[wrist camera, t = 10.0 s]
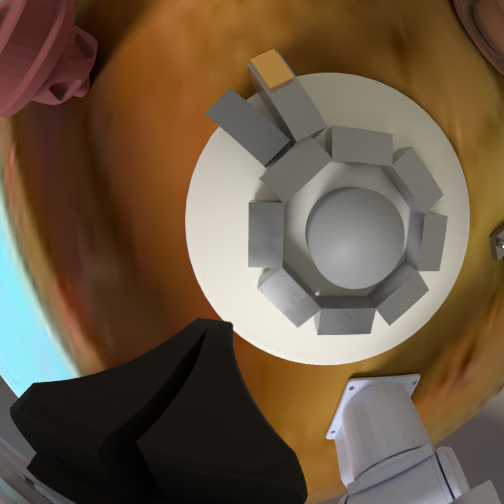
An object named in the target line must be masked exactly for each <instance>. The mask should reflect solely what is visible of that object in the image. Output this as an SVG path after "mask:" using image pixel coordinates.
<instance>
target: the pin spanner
mask: <svg viewBox="0 0 504 504" xmlns="http://www.w3.org/2000/svg"><path fill="white" fill-rule="evenodd" d="M489 238H490V244H491V249H492V255H493V259H495V260H497V261H499V260H500V259H501V258H502V257H503V260H504V224H503V225H502V226H501V227H499V228H498V229H497V230H496V231H495V232H494V233H493V234H491V235H490V236H489Z"/></svg>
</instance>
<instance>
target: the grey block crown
mask: <svg viewBox="0 0 504 504" xmlns="http://www.w3.org/2000/svg"><path fill="white" fill-rule="evenodd" d="M250 62H251V63H249V64H247V65H248V69H249V73H250V77H251V81H252V85H253V87H254V88H255V90H256V91H257V93H258V94H259V96H260V97H261V99H262V101H263V102H264V104H265V105H266V107H267V108H268V110H269V112H270V113H271V115H272V116H273V118H274V120H275V121H276V123H277V125H278V126H279V128H280V130H281V131H282V133H284V134H285V135H286V136H287V137H288V138H289V139H290V142H289V145H290V147H291V149H290V150H289V151H288V152H287V153H286V154H285V155H283V156H282V157H281V158H280V159H279V160H278V161H277V162H276V163H275V164H274V165H273V166H272V167H271V168H269V169H268V170H267V171H266V172H265V173H264V174H263V175H262V176H261V177H260V178H259V179H260V180H261V181H262V182H263V183H264V184H265V185H266V186H267V187H268V188H269V189H270V190H271V191H272V192H273V193H274V194H275V195H276V196H277V197H278V198H279V199H280V200H253V199H251V200H250V201H249V219H248V267H257V268H269V269H267V270H266V271H265V272H264V273H263V274H262V275H261V276H260V277H259V280H258V286H257V289H258V290H259V291H260V292H261V293H262V294H263V295H264V296H265V297H266V298H267V299H268V300H269V301H270V302H271V303H272V304H273V305H274V306H276V307H277V308H278V309H279V310H280V311H281V312H282V313H283V314H284V315H285V316H286V317H287V318H288V319H289V320H290V321H291V322H292V323H293V324H294V325H295V326H296V327H297V328H298V327H300V326H301V325H302V324H304V323H305V322H306V321H308V320H309V319H310V318H311V317H313V316H314V323H315V327H316V332H317V335H357V334H371V329H372V325H373V321H374V316H375V312H376V310H377V311H378V312H379V314H380V315H381V316H382V318H383V319H384V320H385V321H386V323H387V324H388V325H389V326H390V325H391V324H392V323H394V322H395V321H396V320H397V319H398V318H399V317H401V316H402V315H403V314H404V313H405V312H406V311H407V310H408V309H410V308H411V307H412V306H413V305H414V304H415V303H416V302H417V301H418V300H419V299H420V298H421V297H422V296H424V295H425V294H426V293H427V292H428V291H429V289H428V287H427V285H426V284H425V282H424V280H423V279H422V277H421V275H420V274H419V272H418V271H439V270H440V265H441V260H442V254H443V248H444V242H445V235H446V228H447V219H448V216H446V215H443V214H439V213H436V212H431V211H429V210H430V209H431V208H432V207H433V206H434V204H435V203H436V202H437V201H438V200H439V199H440V198H441V197H442V196H443V193H442V191H441V190H440V188H439V186H438V185H437V183H436V181H435V180H434V178H433V177H432V175H431V174H430V172H429V171H428V169H427V168H426V166H425V165H424V163H423V162H422V160H421V159H420V157H419V156H418V154H417V153H416V152H415V150H414V149H413V148H412V146H411V147H405V148H400V149H398V150H396V151H395V152H394V153H393V134H390V133H385V132H379V131H372V130H366V129H358V128H351V127H342V126H331V127H330V128H329V129H327V130H326V151H325V150H324V149H323V148H322V147H321V146H320V145H319V144H318V142H317V141H316V140H315V139H314V138H315V137H317V136H318V135H319V134H320V133H321V132H322V131H323V130H325V129H326V128H327V125H326V123H325V121H324V120H323V118H322V116H321V115H320V113H319V111H318V110H317V108H316V106H315V105H314V103H313V102H312V100H311V98H310V97H309V95H308V94H307V92H306V91H305V89H304V88H303V86H302V85H301V83H300V82H299V80H298V79H297V77H296V76H295V74H294V73H293V71H292V70H291V69H290V67H289V66H288V64H287V63H286V62H285V60H284V59H283V57H282V56H281V55H280V53H279V52H278V51H275V49H272V50H270V51H268V52H265V53H263V54H261V55H259V56H256V57H254V58H252V59H250ZM329 162H337V163H348V164H358V165H367V166H375V167H380V168H381V169H382V170H383V172H384V173H385V174H386V175H387V177H388V178H389V179H390V181H391V182H392V183H393V185H394V186H395V188H396V189H397V190H398V192H399V193H400V194H401V196H402V197H403V199H404V200H405V202H406V203H407V205H408V206H409V207H410V209H411V215H410V225H409V234H408V242H407V249H406V256H405V262H404V263H403V264H401V265H400V266H399V267H398V268H397V269H396V270H395V271H394V272H393V273H392V274H391V275H390V276H389V277H388V278H386V279H385V280H384V281H383V282H382V283H381V284H380V285H379V286H378V287H376V288H375V289H374V290H373V291H372V292H371V293H370V294H368V295H367V296H317V295H316V294H315V293H314V292H313V291H312V289H311V288H310V287H309V286H308V285H307V284H306V283H305V282H304V281H303V280H302V279H301V278H300V277H299V276H298V275H297V274H296V273H295V272H294V271H293V270H292V269H291V267H290V266H289V265H288V264H287V263H286V262H285V261H284V260H283V237H284V208H285V203H286V202H287V201H288V200H289V199H290V198H291V197H293V196H294V195H295V194H296V193H297V192H298V191H299V190H300V189H301V188H302V187H303V186H304V185H305V184H307V183H308V182H309V181H310V180H311V179H312V178H313V177H314V176H315V175H316V174H317V173H319V172H320V171H321V170H322V169H323V168H324V167H325V166H326V165H327V164H328V163H329Z"/></svg>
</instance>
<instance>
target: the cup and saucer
mask: <svg viewBox="0 0 504 504" xmlns="http://www.w3.org/2000/svg"><path fill="white" fill-rule="evenodd" d="M453 2H454V6H455V9H456V12H457V14H458V17H459V19H460V21H461V23H462V25H463V26H464V28H465V30H466V31H467V33H468V35H469V36H470V38H471V39H472V41H473V42H474V44H475V45H476V46H477V48H478V49H479V50H480V51H481V53H482V54H483V55H484V56H485V58H486V59H487V60H488V61H489V62H490V63H491V64H492V65H493V66H494V67H495V68H496V69H497V70H498V71H499V72H500V73H501V74H502V75H504V0H453Z"/></svg>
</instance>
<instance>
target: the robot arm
mask: <svg viewBox="0 0 504 504" xmlns="http://www.w3.org/2000/svg"><path fill="white" fill-rule="evenodd" d="M419 380H420V375H419V374H409V375H398V376H386V377H369V378H352V379H350V380H349V381H348V382H347V385H346V388H345V390H344V393H343V396H342V398H341V401H340V403H339V406H338V408H337V411H336V413H335V415H334V418H333V420H332V423H331V425H330V427H329V429H328V432H327V434H326V438H327V439H335V444H336V450H337V456H338V462H339V469H340V476H341V479H342V482H343V483H344V485H345V486H346V487H347V489H348V494H346V495H344V496H343V497H342V498H341V499H340V501H339V503H338V504H500V501H499V499H498V496H497V494H496V491H495V489H494V487H493V484H492V482H491V480H488V481H486V482H485V483H483V484H481V485H479V486H477V487H475V488H473V489H472V490H470V488H469V485H468V483H467V480H466V478H465V475H464V473H463V471H462V469H461V467H460V464H459V462H458V460H457V458H456V456H455V454H454V452H453V450H452V449H451V447H444V446H441V447H440V448H438V449H437V450H436V449H435V448H434V446H433V445H432V442H431V440H430V438H429V436H428V433H427V431H426V429H425V427H424V425H423V423H422V420H421V418H420V416H419V414H418V412H417V410H416V408H415V406H414V404H413V402H412V400H411V398H410V397H411V395H412V393H413V392H414V390H415V388H416V386H417V384H418V382H419ZM351 386H353V387H351ZM10 414H11V417H12V420H13V422H14V423H15V425H16V426H17V428H18V429H19V431H20V432H21V434H22V435H23V436H24V438H25V439H26V440H27V441H28V443H29V444H30V445H31V446H32V448H33V449H34V450H35V451H36V455H35V456H34V458H33V459H32V461H29V460H28V459H27V458H25V457H24V456H22V455H21V454H20V453H19V452H17V451H16V450H15V449H14V448H12V447H11V446H10V445H9V444H8V443H6V442H5V441H4V440H3V439H2V438H0V504H53V503H52V502H51V501H50V500H49V499H48V498H46V497H45V496H43V495H42V494H41V493H39V492H38V491H37V490H36V488H35V486H37V487H38V488H39V489H41V490H42V491H44V492H45V493H47V494H48V495H50V496H51V497H53V498H54V499H56V500H57V501H59V502H61V503H62V504H304V503H305V502H306V499H307V496H308V493H307V486H306V481H305V478H304V474H303V472H302V469H301V466H300V464H299V461H298V459H297V456H296V454H295V452H294V451H293V450H292V449H291V448H290V447H289V446H288V445H287V444H286V443H285V442H284V441H283V440H282V438H281V437H280V436H279V435H278V434H277V433H276V432H275V430H274V429H273V428H272V427H271V425H270V424H269V423H268V421H267V420H266V419H265V417H264V416H263V414H262V413H261V411H260V410H259V408H258V407H257V405H256V403H255V402H254V400H253V398H252V397H251V395H250V393H249V391H248V389H247V387H246V385H245V383H244V380H243V378H242V375H241V373H240V370H239V367H238V364H237V361H236V357H235V353H234V349H233V324H232V323H231V322H228V321H219V320H211V319H203V318H197V319H196V320H195V321H193V322H192V323H191V324H189V325H188V326H186V327H185V328H184V329H182V330H181V331H180V332H178V333H177V334H175V335H174V336H173V337H171V338H170V339H168V340H167V341H165V342H164V343H162V344H160V345H159V346H157V347H155V348H154V349H152V350H150V351H149V352H147V353H145V354H143V355H141V356H139V357H137V358H135V359H133V360H131V361H129V362H127V363H124V364H122V365H119V366H117V367H114V368H111V369H108V370H105V371H102V372H99V373H96V374H92V375H88V376H84V377H79V378H74V379H69V380H62V381H52V382H40V383H33V384H32V385H31V386H30V387H29V388H28V389H27V390H26V391H25V392H24V393H23V394H22V395H21V397H20V398H19V399H18V400H17V401H16V402H15V403H14V404H13V405H12V406H11V407H10ZM34 485H35V486H34Z"/></svg>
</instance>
